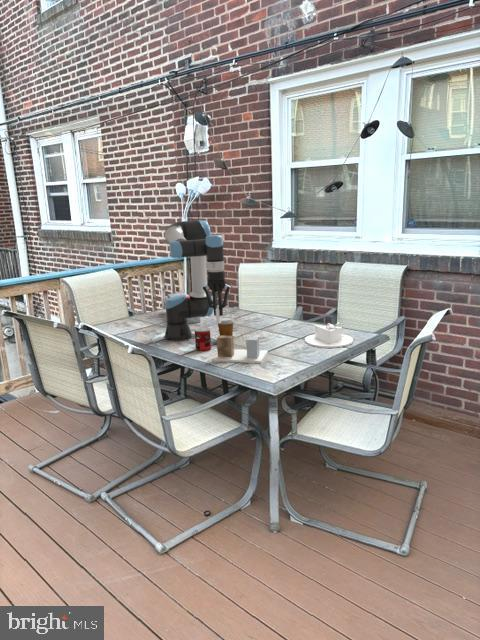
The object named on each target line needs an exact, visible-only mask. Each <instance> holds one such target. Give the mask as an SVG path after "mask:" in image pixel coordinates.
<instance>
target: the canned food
mask: <svg viewBox="0 0 480 640" xmlns="http://www.w3.org/2000/svg"><path fill="white" fill-rule="evenodd" d="M211 338H212V337H211V328H210V327H207V326H199V327H195V328H194V341H195V350H196V351H197V352H208V351H211V349H212V341H211Z"/></svg>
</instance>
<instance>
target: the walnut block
mask: <svg viewBox="0 0 480 640" xmlns="http://www.w3.org/2000/svg"><path fill="white" fill-rule="evenodd" d="M234 344H235V343H234V335H232V336H221V335H220V334H219V335H218V336H217V337H216V349H217V353H218V358H233V357H234V349H235V345H234Z"/></svg>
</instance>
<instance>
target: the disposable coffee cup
mask: <svg viewBox="0 0 480 640" xmlns="http://www.w3.org/2000/svg"><path fill="white" fill-rule="evenodd" d="M234 323H235V319H234V318H233V317H232V316H221V323H217V327H218V332H219V333H218V334H219V335H221V336H234V335H233V333H234Z"/></svg>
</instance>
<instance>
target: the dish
mask: <svg viewBox="0 0 480 640" xmlns="http://www.w3.org/2000/svg"><path fill="white" fill-rule="evenodd" d="M339 324H340V321H338V322H337V323H334V324H332V323H330V322H328V323H327V325H315V324H314V334H310V335H307V336H305V338H304V343H305V344H306V345H308V346H311V347H315V348H321V349H338V348H337V347H340V348H344V347H343V346H345V347H348V346H351V345H352V344H353V343H354V338H353V337H352V336H350V335H347V334H343V327H342V326H337V325H339ZM352 342H353V343H352ZM350 344H351V345H350Z"/></svg>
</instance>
